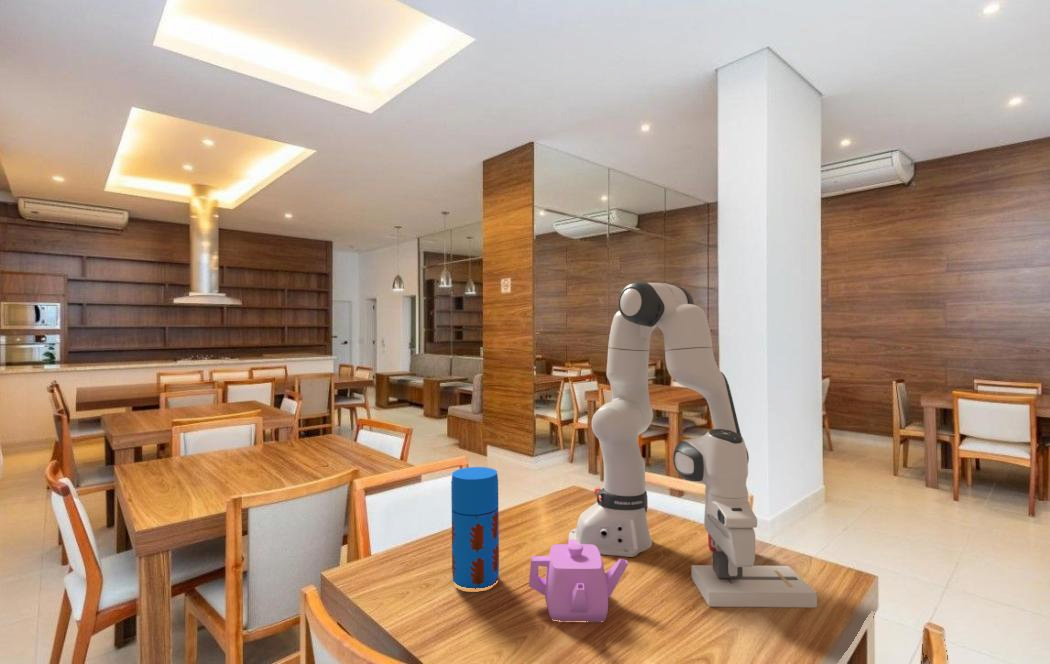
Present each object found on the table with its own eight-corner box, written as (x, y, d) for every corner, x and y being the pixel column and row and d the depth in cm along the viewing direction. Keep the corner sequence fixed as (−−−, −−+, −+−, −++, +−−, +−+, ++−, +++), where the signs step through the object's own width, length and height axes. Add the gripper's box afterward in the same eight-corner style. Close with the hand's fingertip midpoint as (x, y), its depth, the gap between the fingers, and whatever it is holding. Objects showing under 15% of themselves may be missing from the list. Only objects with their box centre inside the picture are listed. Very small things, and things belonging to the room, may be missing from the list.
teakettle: (571, 577, 116) (571, 524, 116) (633, 605, 104) (632, 546, 104) (519, 605, 105) (518, 546, 105) (581, 640, 92) (581, 573, 92)
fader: (719, 580, 107) (718, 559, 107) (712, 571, 111) (712, 551, 111) (742, 580, 107) (742, 559, 107) (735, 572, 111) (735, 551, 111)
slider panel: (709, 606, 103) (708, 591, 103) (691, 578, 115) (691, 564, 115) (817, 607, 102) (816, 592, 102) (788, 578, 114) (788, 565, 114)
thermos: (507, 575, 117) (506, 469, 117) (484, 597, 108) (483, 482, 108) (467, 566, 122) (466, 465, 122) (442, 587, 112) (441, 476, 112)
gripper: (697, 490, 119) (697, 548, 119) (729, 522, 99) (730, 592, 99) (723, 490, 119) (724, 548, 119) (761, 522, 99) (762, 592, 99)
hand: (727, 568), depth 109 cm, fingers closed on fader, 4 cm apart
